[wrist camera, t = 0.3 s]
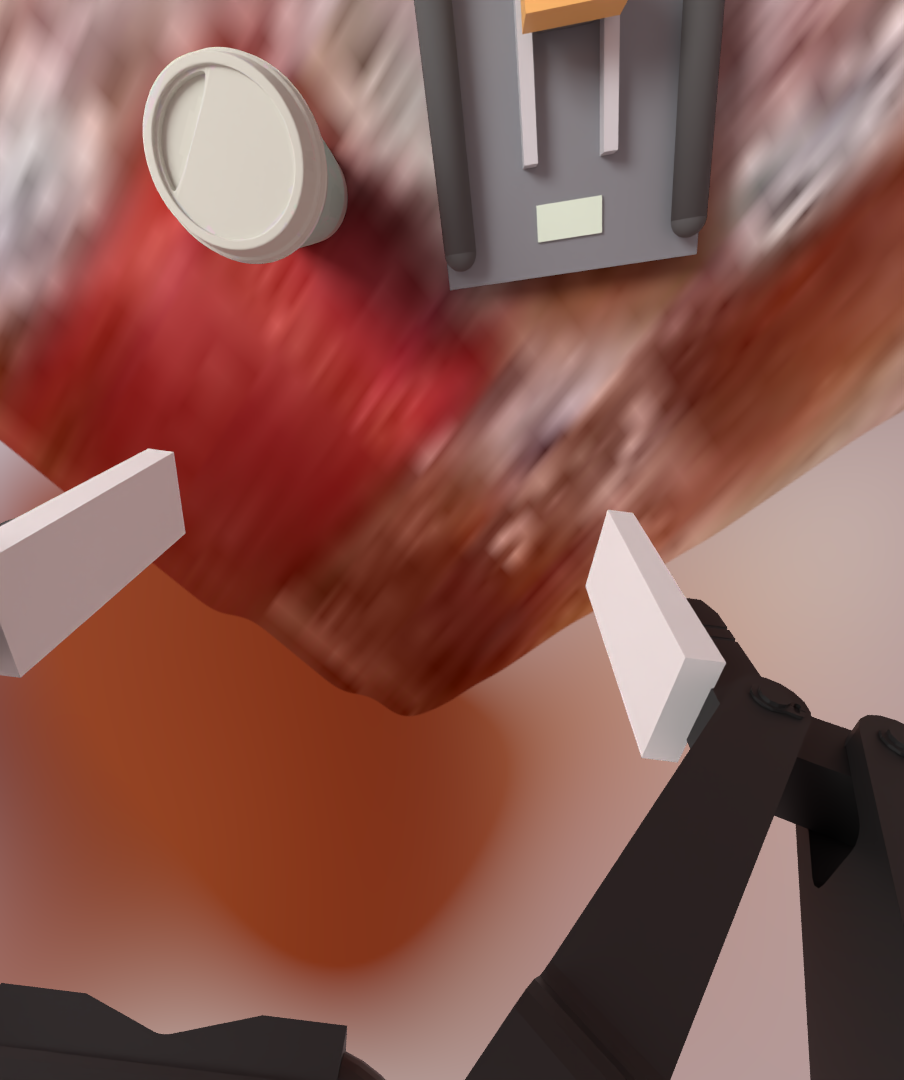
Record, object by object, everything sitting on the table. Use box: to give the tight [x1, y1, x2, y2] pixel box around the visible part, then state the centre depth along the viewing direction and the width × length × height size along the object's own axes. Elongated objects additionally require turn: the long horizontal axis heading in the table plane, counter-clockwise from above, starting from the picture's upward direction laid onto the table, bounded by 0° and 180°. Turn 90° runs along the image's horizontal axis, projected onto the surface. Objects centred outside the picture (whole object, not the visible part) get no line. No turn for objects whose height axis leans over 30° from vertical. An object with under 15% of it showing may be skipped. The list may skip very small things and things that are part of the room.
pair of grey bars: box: [414, 0, 725, 272], centre depth 27 cm, size 22×16×2 cm
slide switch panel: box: [447, 0, 698, 290], centre depth 28 cm, size 24×16×3 cm, turn 8°
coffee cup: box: [143, 47, 348, 264], centre depth 29 cm, size 8×9×12 cm
